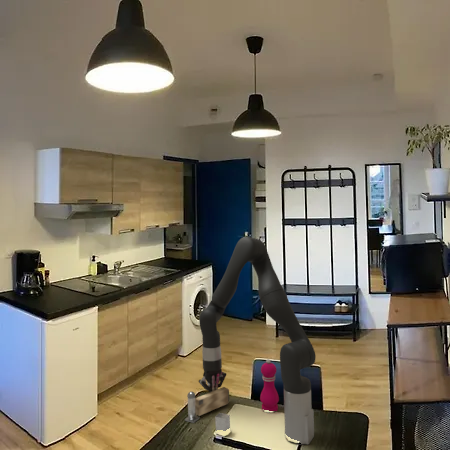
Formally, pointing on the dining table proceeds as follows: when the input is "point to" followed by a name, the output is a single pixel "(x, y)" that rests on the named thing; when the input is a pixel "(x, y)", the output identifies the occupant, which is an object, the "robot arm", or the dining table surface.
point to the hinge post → (191, 408)
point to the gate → (211, 400)
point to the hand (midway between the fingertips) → (213, 399)
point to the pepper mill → (269, 387)
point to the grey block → (222, 421)
